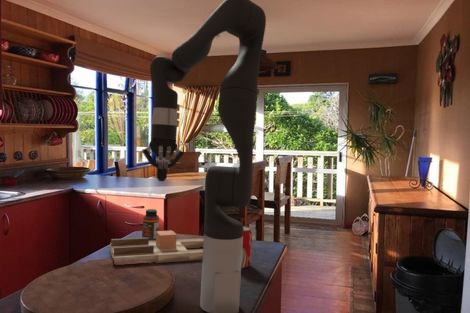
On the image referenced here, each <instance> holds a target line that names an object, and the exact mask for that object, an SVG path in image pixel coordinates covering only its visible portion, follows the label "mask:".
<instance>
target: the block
mask: <svg viewBox="0 0 470 313" xmlns="http://www.w3.org/2000/svg"><path fill="white" fill-rule="evenodd" d="M176 240H177V233H176V232H175V231H173V230H158V231H156V245H157V247H158V248H159V249H168V248H176Z"/></svg>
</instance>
